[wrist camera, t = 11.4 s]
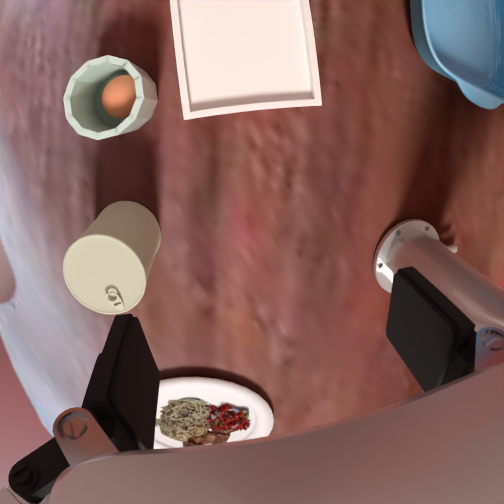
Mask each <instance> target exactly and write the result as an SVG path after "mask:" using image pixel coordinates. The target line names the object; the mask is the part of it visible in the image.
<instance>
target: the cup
mask: <svg viewBox="0 0 504 504" xmlns="http://www.w3.org/2000/svg"><path fill="white" fill-rule="evenodd" d="M121 75H131V76H132V77H133V79H134V81H135V89H136V97H137V98H136V100H135V103H134V105H133V108H132V110H131V113H130V116H128V117H127V118H122V119H120V118H115V117H113V116H111V115H109V114H108V113H107V112H106V111H105V109H104V107H103V105H102V93H103V90H104V88H105V86H106V85H107V84H108V83H109V82H110V81H111V80H112V79H114V78H115V77H118V76H121ZM63 99H64V106H65V113H66V119H67V120H68V122H69V123H70V124H71V125H72V127H73V128H74V129H75V130H76V131H77V133H78V134H80V135H83V136H86V137H89V138H93V139H96V140H100V139H104V138H108V137H112V136H116V135H120V134H124V133H128V132H131V131H135V130H138V129H139V128H140V127H141V126H142V125H144V124H145V123H146V122H147V121H148V120H149V119H151V117H152V115H153V112H154V109H155V107H156V105H157V102H158V98H157V90H156V84H155V82H154V81H153V80H152V79H151V78H150V76H149V75H148V74H147V73H146V72H145V71H144V70H143V69H141V68H139V67H138V66H136V65H135V64H133V63H132V62H130V61H128V60H125V59H121V58H118V57H114V56H110V55H106V56H103V57H100V58H96V59H93V60H90V61H87V62H86V63H85V64H84V65H83V66H82V67H81V68H80V69H79V70H78V71H77V72H76V73H75V74H74V75H73V76H72V77H71V78H70V81H69V84H68V87H67V89H66V92H65V95H64V98H63Z"/></svg>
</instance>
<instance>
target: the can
mask: <svg viewBox="0 0 504 504" xmlns="http://www.w3.org/2000/svg"><path fill="white" fill-rule="evenodd" d="M160 242H161V231H160V227H159V224H158V222H157V220H156V218H155V217H154V215H153V214H152V213H151V212H150V211H149V210H148V209H147V208H146V207H144V206H142V205H141V204H138V203H136V202H132V201H119V202H115V203H112V204H110V205H108V206H107V207H106V208H104V209H103V210H102V212H101V213H100V214H99V216H98V218H97V219H96V220H95V221H94V222H93V223H92V224H91V225H90V226H89V227H88V228H87V229H86V230H85V232H84V233H83V234H82V235H81V236H80V237H79V238H78V239H77V240H75V241H74V242H73V243H72V244H71V245H70V247H69V248H68V250H67V252H66V254H65V257H64V261H63V274H64V278H65V282H66V284H67V286H68V288H69V290H70V291H71V293H72V294H73V296H74V297H75V298H76V299H77V300H78V301H79V302H80V303H82V304H83V305H84V306H86V307H87V308H89V309H91V310H94V311H96V312H99V313H104V314H119V313H123V312H126V311H128V310H130V309H131V308H133V307H134V306H135V305H136V304H137V303H138V302H139V301H140V300H141V298H142V296H143V294H144V292H145V288H146V282H147V279H148V275H149V272H150V269H151V266H152V263H153V260H154V257H155V254H156V253H157V251H158V249H159V246H160Z"/></svg>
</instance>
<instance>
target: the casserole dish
mask: <svg viewBox="0 0 504 504" xmlns="http://www.w3.org/2000/svg"><path fill="white" fill-rule="evenodd" d="M410 10H411V26H412V34H413V39H414V43H415V46H416V49H417V51H418V53H419V55H420V57H421V58H422V60H423V61H424V62H425V63H426V64H427V65H428V66H429V67H430V68H432V69H433V70H434V71H436V72H438V73H439V74H441V75H443V76H445V77H447V78H449V79H451V80H453V81H455V82H457V84H458V86H459V88H460V90H461V91H462V93H463V94H464V95H465V97H466V98H467V99H468V100H470V101H471V102H472V103H474V104H476V105H478V106H480V107H482V108H485V109H495V108H497V107H498V106H499V105H500V104H502V103H503V104H504V0H410Z"/></svg>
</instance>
